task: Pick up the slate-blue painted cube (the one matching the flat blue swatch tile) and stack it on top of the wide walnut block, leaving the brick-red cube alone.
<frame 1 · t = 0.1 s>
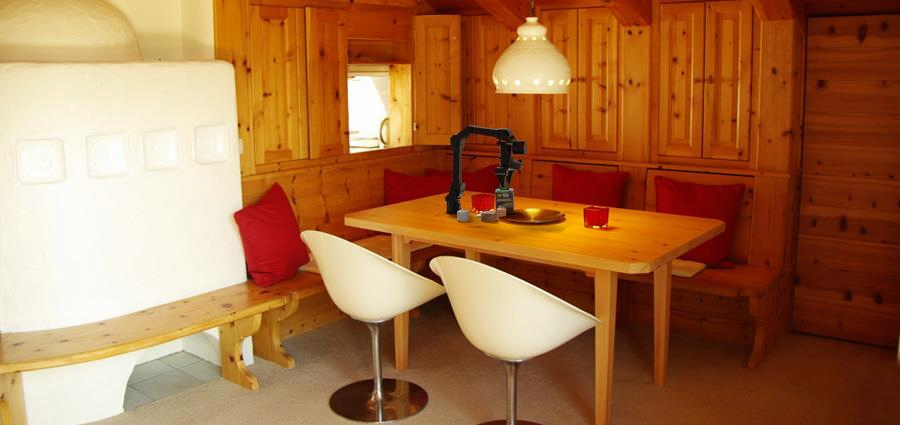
hand: (506, 185, 430), 15 cm above the table, tool pointing down, fingers open, 9 cm apart
blue cube: (463, 220, 423), on the table
swatch tile: (483, 216, 432), on the table
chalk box: (504, 212, 440), on the table
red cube: (501, 216, 430), on the table
walnut block: (488, 220, 422), on the table
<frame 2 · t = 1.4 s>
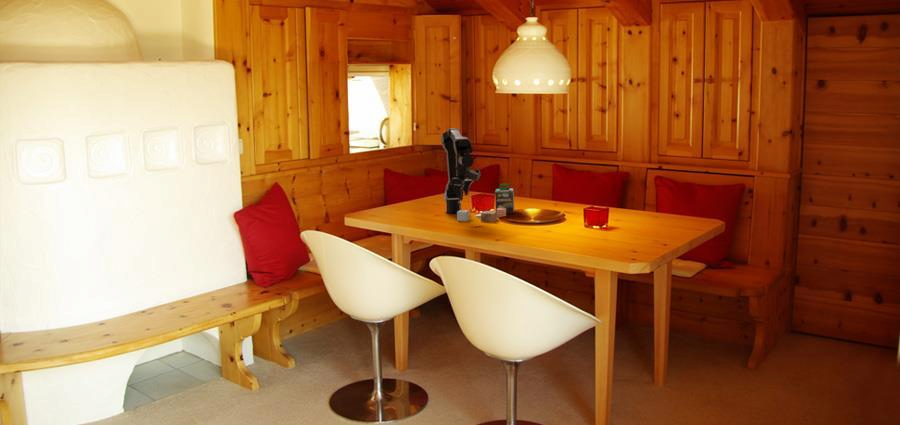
hand: (463, 196, 421), 11 cm above the table, tool pointing down, fingers open, 9 cm apart
nothing on the table moved.
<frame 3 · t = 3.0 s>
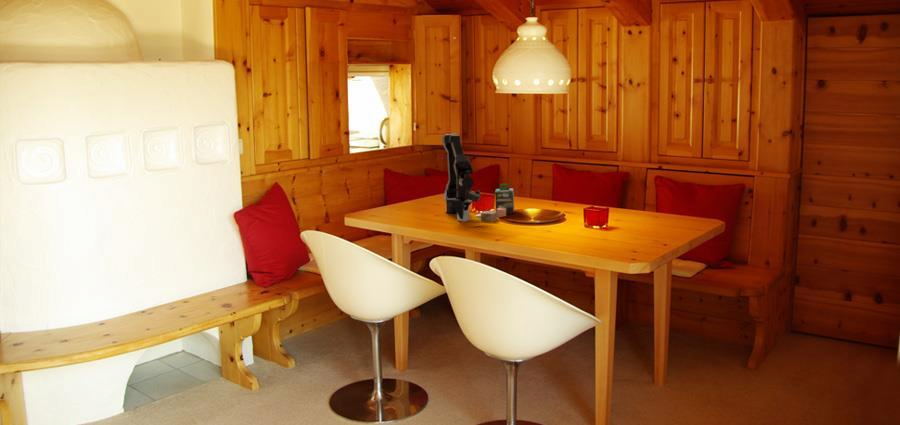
hand: (463, 217, 423), 1 cm above the table, tool pointing down, fingers closed on blue cube, 4 cm apart
blue cube: (463, 220, 423), on the table, touching gripper
everything else where it was.
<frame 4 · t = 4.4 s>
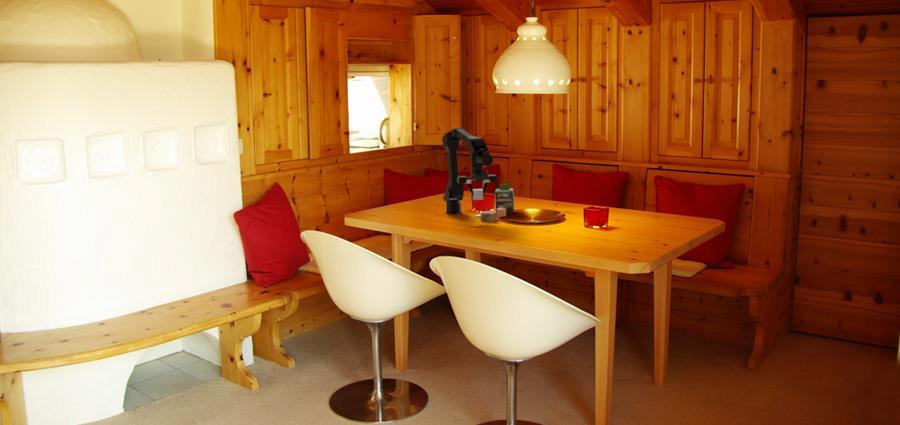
hand: (477, 196, 420), 11 cm above the table, tool pointing down, fingers closed on blue cube, 4 cm apart
blue cube: (477, 199, 420), point 10 cm above the table, touching gripper
everything else where it was.
when the fingers open (6 cm above the table, at t = 5.9 s): blue cube drops 1 cm, resting on walnut block.
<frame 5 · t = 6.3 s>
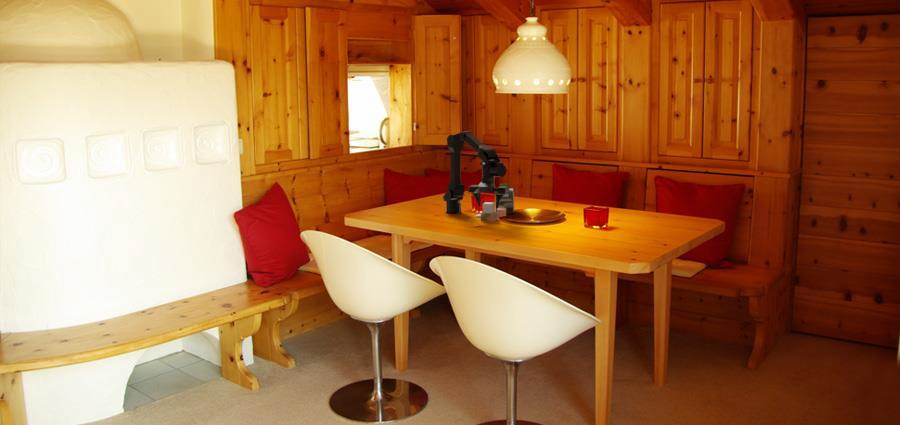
hand: (488, 207, 421), 6 cm above the table, tool pointing down, fingers open, 9 cm apart
blue cube: (488, 212, 421), point 4 cm above the table, touching walnut block
walnut block: (488, 220, 422), on the table, touching blue cube
everything else where it was.
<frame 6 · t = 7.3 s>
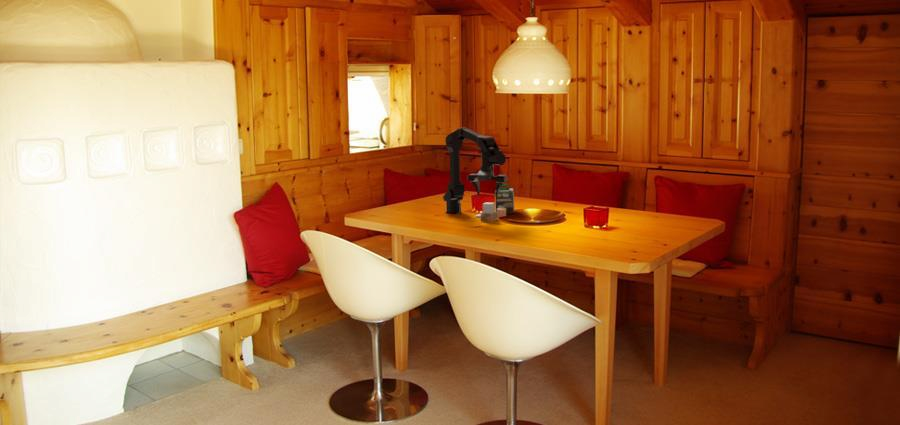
hand: (487, 195, 420), 12 cm above the table, tool pointing down, fingers open, 9 cm apart
nothing on the table moved.
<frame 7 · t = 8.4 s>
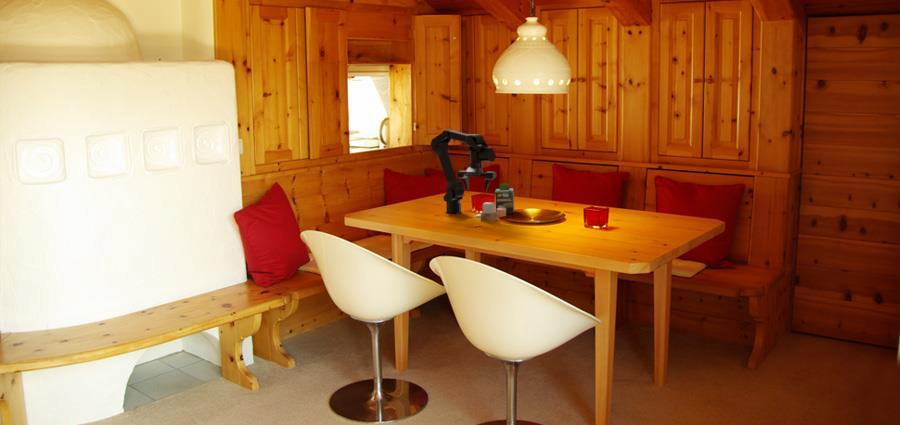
hand: (476, 192, 430), 12 cm above the table, tool pointing down, fingers open, 9 cm apart
nothing on the table moved.
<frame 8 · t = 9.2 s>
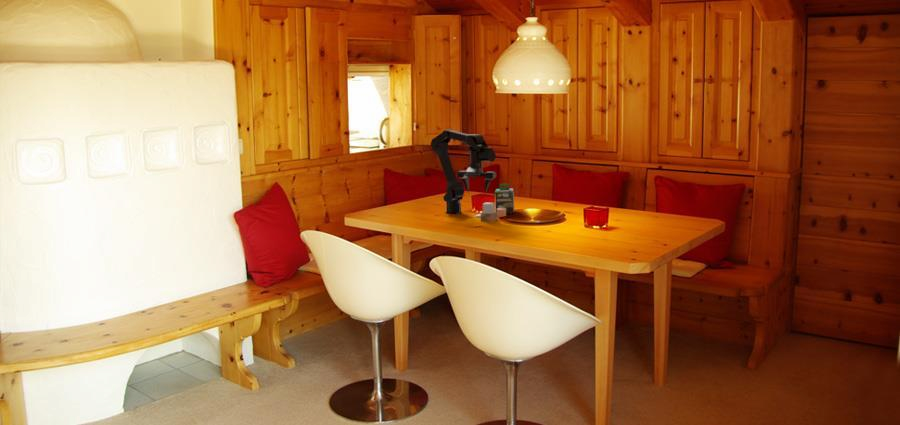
hand: (476, 192, 430), 12 cm above the table, tool pointing down, fingers open, 9 cm apart
nothing on the table moved.
at the end: blue cube 0.4 cm off-centre on the walnut block, point 4.0 cm above the walnut block's base; blue cube tilted 0°; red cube moved 0.1 cm from its start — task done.
